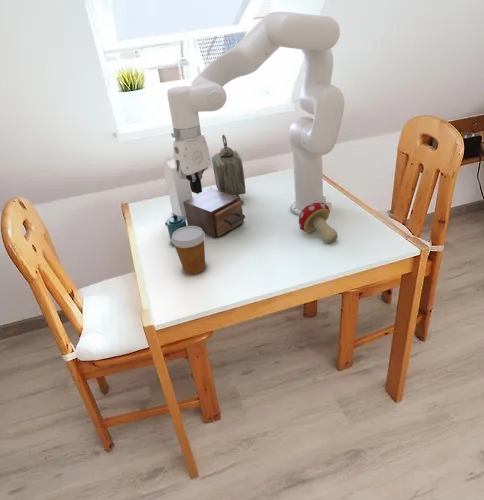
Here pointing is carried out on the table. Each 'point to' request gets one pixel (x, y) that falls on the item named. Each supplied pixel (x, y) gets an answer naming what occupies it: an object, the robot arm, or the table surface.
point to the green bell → (229, 171)
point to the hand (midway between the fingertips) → (196, 191)
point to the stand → (207, 209)
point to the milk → (176, 187)
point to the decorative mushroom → (317, 221)
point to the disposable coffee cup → (190, 248)
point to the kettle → (175, 224)
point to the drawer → (228, 217)
